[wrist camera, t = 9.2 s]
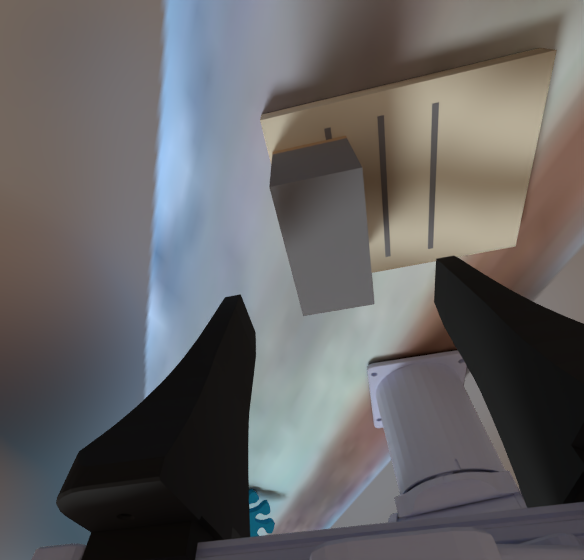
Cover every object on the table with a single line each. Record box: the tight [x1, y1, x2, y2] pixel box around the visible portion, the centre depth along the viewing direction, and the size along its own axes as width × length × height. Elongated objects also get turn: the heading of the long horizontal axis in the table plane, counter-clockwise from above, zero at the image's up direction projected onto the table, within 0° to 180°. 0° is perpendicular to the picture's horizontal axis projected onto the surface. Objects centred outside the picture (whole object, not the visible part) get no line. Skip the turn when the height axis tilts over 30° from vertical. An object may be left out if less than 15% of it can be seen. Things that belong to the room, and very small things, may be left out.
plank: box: [260, 48, 557, 273], centre depth 19 cm, size 10×13×1 cm
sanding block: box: [270, 136, 374, 316], centre depth 17 cm, size 7×4×4 cm, turn 12°
